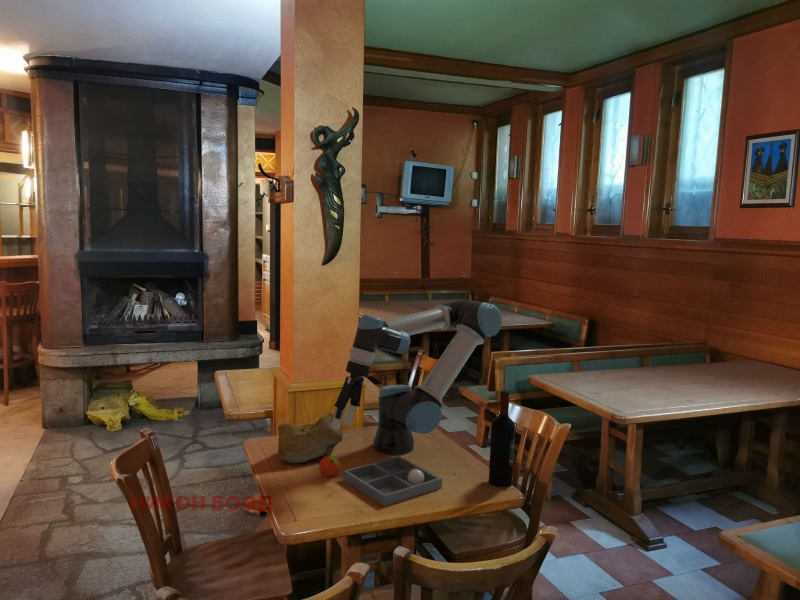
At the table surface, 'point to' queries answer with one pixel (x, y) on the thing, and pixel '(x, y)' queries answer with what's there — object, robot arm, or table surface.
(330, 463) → the clementine
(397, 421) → the robot arm
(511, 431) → the wine bottle
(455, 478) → the table surface
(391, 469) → the divided tray
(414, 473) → the cream egg
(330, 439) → the rough brown rock
